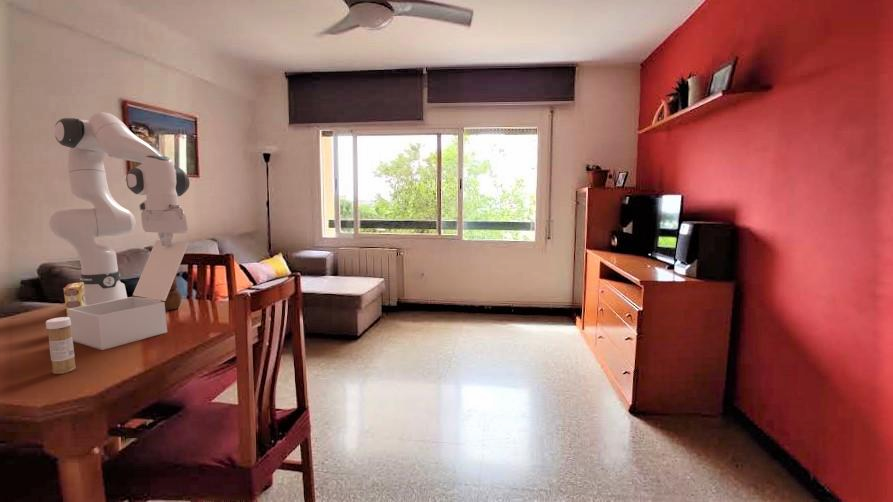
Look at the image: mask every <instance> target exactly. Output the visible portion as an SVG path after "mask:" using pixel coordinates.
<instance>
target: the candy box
mask: <svg viewBox="0 0 893 502" xmlns="http://www.w3.org/2000/svg"><path fill="white" fill-rule="evenodd" d="M62 289H63V295H64V303H65V309H66V317H69V315H68V309H71V308H76V307H81V306H86V299H85V291H84V283H83V282H82V283H80V282H75V283H74V282H73V283H68V284H66V286H65V287H63V288H62Z"/></svg>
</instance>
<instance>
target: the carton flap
mask: <svg viewBox="0 0 893 502" xmlns="http://www.w3.org/2000/svg"><path fill="white" fill-rule="evenodd" d="M171 243H172V246H168V247H167V246H162V245H161V240H160V239H156V240H155V242H154V244H153V246H152V249H151V251H150V254H149V256H148V259H147V260H146V263H145V265H144V266H143V267H144V268H143V270H142V273H141V275H140V277H139V280H138V282H137V284H136V286H135V288H134V291H133V293H132V296H133V297H139V298H144V299H150V300H155V301H166V298H167V296H168V293H169V291H170V288H171V286H172V283H173V281H174V280H175V278H176V275H177V273H178V271H179V268H180V266H181V263H182V260H183V258H184V255H185V254H186V251H187V248H188V246H189V244H190V243H189V242H187V241H179V240H177V241H174V240H172V241H171Z"/></svg>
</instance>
